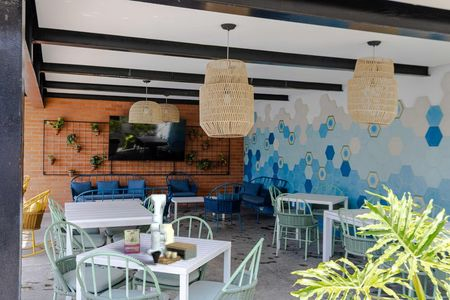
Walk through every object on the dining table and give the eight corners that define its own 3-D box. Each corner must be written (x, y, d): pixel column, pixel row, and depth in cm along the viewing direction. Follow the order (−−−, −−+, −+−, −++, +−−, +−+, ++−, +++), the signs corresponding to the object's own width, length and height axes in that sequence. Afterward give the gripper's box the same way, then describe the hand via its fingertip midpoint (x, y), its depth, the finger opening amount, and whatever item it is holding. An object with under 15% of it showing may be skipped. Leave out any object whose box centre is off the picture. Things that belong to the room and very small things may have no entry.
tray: (155, 262, 274) (155, 254, 274) (168, 258, 286) (168, 250, 286) (166, 264, 269) (166, 256, 269) (180, 259, 281) (180, 252, 281)
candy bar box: (140, 251, 305) (140, 229, 305) (140, 253, 300) (140, 230, 300) (124, 252, 302) (124, 229, 302) (124, 254, 297) (124, 230, 297)
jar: (169, 241, 338) (169, 222, 338) (176, 243, 330) (176, 224, 330) (157, 243, 331) (157, 224, 331) (163, 245, 323) (163, 226, 323)
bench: (165, 256, 289) (165, 244, 289) (176, 253, 299) (176, 241, 299) (186, 260, 279) (186, 248, 279) (196, 256, 290) (196, 244, 290)
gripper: (152, 244, 259) (153, 266, 259) (168, 240, 271) (168, 261, 271) (144, 243, 263) (144, 265, 263) (159, 239, 275) (159, 259, 275)
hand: (155, 263), depth 267 cm, fingers closed
